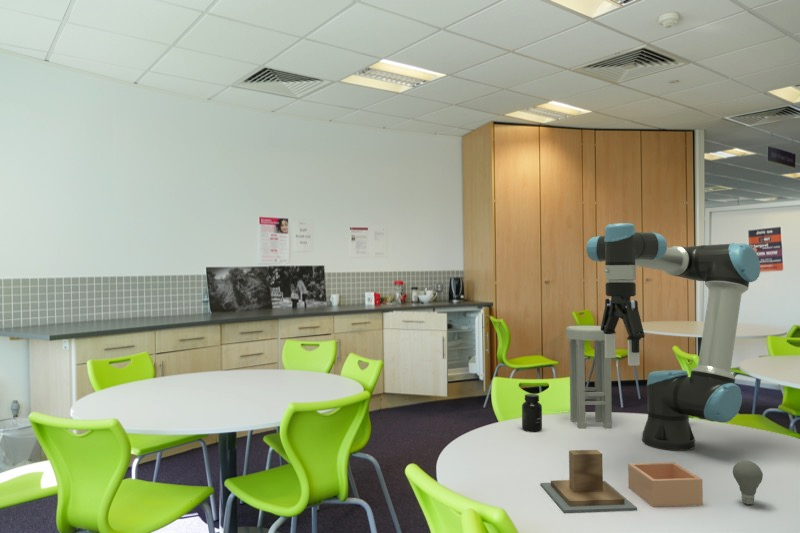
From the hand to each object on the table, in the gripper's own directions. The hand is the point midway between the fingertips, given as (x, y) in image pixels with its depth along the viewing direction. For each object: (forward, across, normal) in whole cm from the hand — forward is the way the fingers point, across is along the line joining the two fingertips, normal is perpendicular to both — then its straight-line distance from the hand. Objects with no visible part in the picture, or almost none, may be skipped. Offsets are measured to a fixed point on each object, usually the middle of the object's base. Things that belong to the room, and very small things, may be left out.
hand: (621, 361), depth 150 cm
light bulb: (+31, +19, +21) cm, 42 cm away
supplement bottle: (+31, -48, -10) cm, 58 cm away
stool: (+31, -53, +13) cm, 63 cm away
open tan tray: (+31, +13, +4) cm, 34 cm away
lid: (+30, +12, -15) cm, 36 cm away
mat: (+31, +12, -15) cm, 36 cm away
